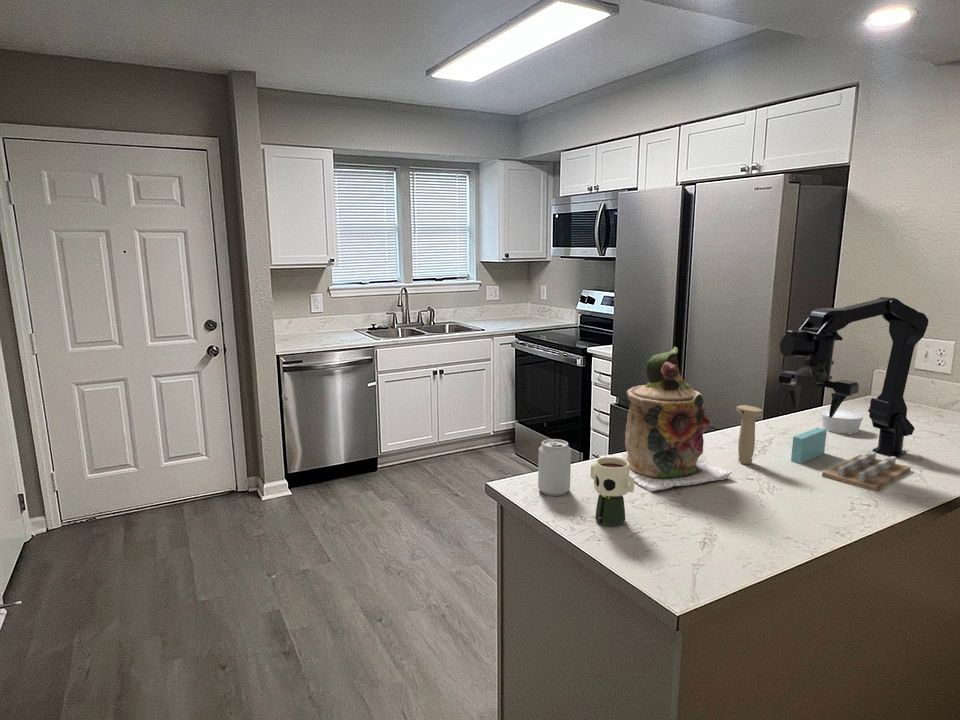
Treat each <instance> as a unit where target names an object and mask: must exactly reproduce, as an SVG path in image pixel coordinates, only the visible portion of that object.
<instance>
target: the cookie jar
mask: <svg viewBox="0 0 960 720" xmlns="http://www.w3.org/2000/svg"><path fill="white" fill-rule="evenodd" d="M678 353H679V349H678V347H676V346H674V347H673V348H672V350H670V351H666V352H662V353H657V354H654V355H652V356H651V357H650V358H649V359H648V361H647V363H646V370H645V371H646V376H647V379H648V380H647V381H648V382H647V383H646V384H643V385H636V386H632V387H631V388H629V389H628V390H626V395H627V398H628V400H629V401H630V402H629V407H628V413H627V420H626V425H625V432H624V437H625V440H624V445H625V451H626V452H618V453H613V454H606V455H605V454H604V455H599V458H602V457H609V456H610V457H617V458H622V459H625V460H627V461H628V462H629V463H630V472H629V476H631V477H633V478H634V483H636V484H637V485H639V486H640V487H641V488H643V489H645V490H646V491H647V490H648V491H650V492H655V491H661V490H666V489H671V488H673V487H681V486H683V487H686V486H692V485H700V484H703V483H710V482H711V483H712V482H715V481H724V480H727V479H729V477H730V475H731V474H732V473H733V472H732V470H729V469H726V468H724V467H722V466H717V465H713V464H709V463H708V462H706V461H704V460H703V459H699V458H700V457H701V455H703V453H704V441H705V440H704V433H705V432H706V431H707V430H708V428H709V427H710V426H711V425H712V421H711V420H712V419H710V417H709V415H705V412H706V406H705V405H704V400H703V395H702V393H701V392H699V391H697V390H695V389H693V387H692V386H691V385H690V384H689V383H687V382H685V380H684V379H683V377H682V375H681V374H680V369H679V361H678V356H677V355H678Z"/></svg>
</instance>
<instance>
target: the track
mask: <svg viewBox="0 0 960 720" xmlns="http://www.w3.org/2000/svg"><path fill="white" fill-rule="evenodd" d="M896 460H897V457H896V456H891V455H890V456H889V457H888V458H885V459H878V458H877V452H874V451H871V452H869V453H866V454H864V455H863V454H858V455H856V456H854V457H853V458H850V459H848V460H845V461H844V462H842V463H839V464H838V465H835V466H833V467H830V468H828V469H827V470H824V471H822V474H821V477H823V478H827V479H830V480H834V481H838V482H842V483H845V484H848V485H852V486H856V487H859V488H863V489H867V490H870V491H874V492H876V491H877V490H879V489H881V488H883V487H885V486H886V485H888V484H890V483H892V482H893V481H895V480H897V479H899V478H900V477H902V476H904V475H906V474H907V473H909V472H911V468H912V467H911V466H908V465H903V464H901V463H900V464H899V463H896Z"/></svg>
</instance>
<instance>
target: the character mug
mask: <svg viewBox="0 0 960 720" xmlns="http://www.w3.org/2000/svg"><path fill="white" fill-rule="evenodd" d="M629 472H630V463H629V462H628V461H627V460H625V459H622V458H617V457H602V458H600V457H598V458H596V459H595V462H594V463H593V464H591V465H590V478H591V479H592V480H593V488H594V490H595V491H596V493H597V494H598V497H597V502H596V508H595V520H596V522H598V523H599V522H600V521H601V520H600V519H602V524H603V525H608V526H618V525H621V524H622V523H623V522H625V521H626V511H625V510H626V509H625V498H624V495H627V494H628V493H634V491H635V482H634V478H633V477H631V476H629Z"/></svg>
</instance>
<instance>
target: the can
mask: <svg viewBox="0 0 960 720" xmlns="http://www.w3.org/2000/svg"><path fill="white" fill-rule="evenodd" d="M571 461H572V449H571V447H570V446H569V442H568V441H566V440H563V439H558V438H551V439H545V440H543V441H542V442H541V446H539V447H538V469H537V470H538V471H537V472H538V474H537V479H538V480H537V486H538V489H539V490H540V491H541V493H542V494H545V495H546V496H552V497H558V496H563V495H565V494H567V493H568V492H569V491H570V489H571V467H572V466H571V465H572V464H571V463H572V462H571Z"/></svg>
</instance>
